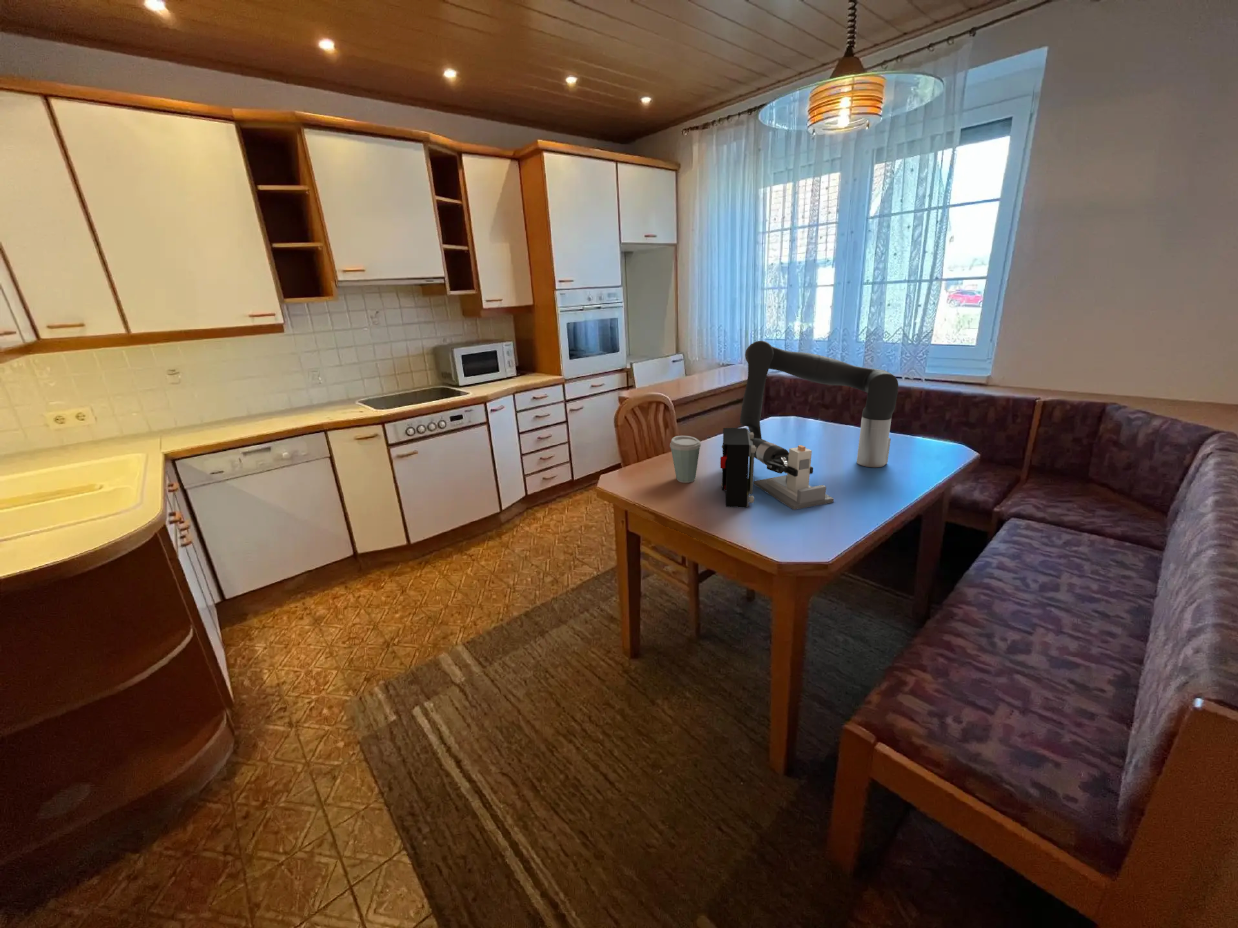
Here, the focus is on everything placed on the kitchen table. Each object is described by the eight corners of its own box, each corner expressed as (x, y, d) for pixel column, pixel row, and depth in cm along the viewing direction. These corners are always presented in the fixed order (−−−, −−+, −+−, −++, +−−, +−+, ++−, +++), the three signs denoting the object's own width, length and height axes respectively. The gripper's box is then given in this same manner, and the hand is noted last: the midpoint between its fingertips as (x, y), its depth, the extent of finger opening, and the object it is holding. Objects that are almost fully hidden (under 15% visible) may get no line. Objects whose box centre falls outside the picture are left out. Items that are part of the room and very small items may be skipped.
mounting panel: (789, 477, 169) (790, 463, 167) (833, 502, 149) (835, 486, 147) (753, 484, 165) (754, 469, 163) (793, 509, 145) (794, 493, 143)
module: (799, 488, 156) (802, 442, 151) (808, 493, 152) (812, 447, 147) (786, 490, 155) (789, 444, 150) (795, 496, 151) (799, 449, 146)
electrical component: (754, 507, 148) (756, 444, 141) (719, 506, 150) (720, 444, 143) (751, 485, 164) (753, 428, 157) (720, 484, 166) (721, 428, 159)
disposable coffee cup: (704, 476, 174) (704, 435, 169) (695, 487, 165) (695, 444, 160) (676, 473, 179) (675, 433, 173) (666, 483, 169) (665, 442, 164)
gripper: (753, 447, 161) (784, 464, 146) (791, 442, 165) (825, 457, 149) (753, 469, 164) (783, 487, 148) (790, 463, 167) (823, 480, 152)
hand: (804, 472), depth 149 cm, fingers closed on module, 4 cm apart
